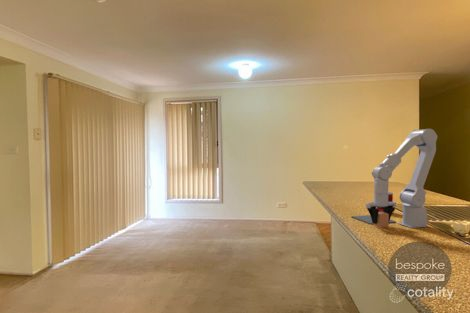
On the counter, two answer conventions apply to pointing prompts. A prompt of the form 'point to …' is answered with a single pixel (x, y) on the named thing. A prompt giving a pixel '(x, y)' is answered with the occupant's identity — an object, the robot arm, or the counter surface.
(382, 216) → the block
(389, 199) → the canned food
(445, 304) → the counter surface
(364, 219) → the mat
